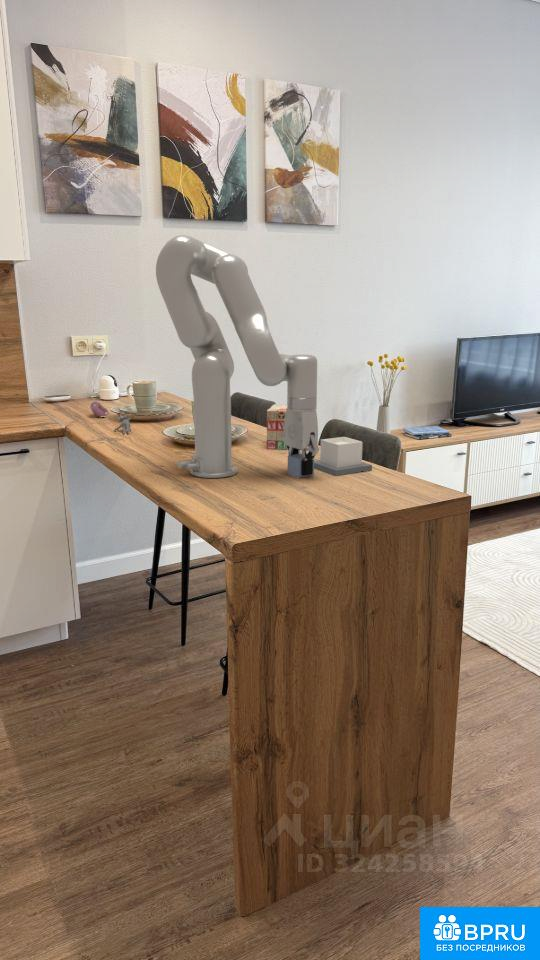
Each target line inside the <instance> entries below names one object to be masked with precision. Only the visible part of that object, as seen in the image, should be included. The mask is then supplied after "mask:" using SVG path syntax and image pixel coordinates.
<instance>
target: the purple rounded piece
mask: <svg viewBox="0 0 540 960" xmlns="http://www.w3.org/2000/svg"><path fill="white" fill-rule="evenodd" d="M89 407H90V410H91V412H92V413H93V414H94V416H99V417H98V418H101V416H106V417H107V415H106V414H105V412H108V413H109V410H108V409H107V408H106V407H104V405H102V404H101V403H100V402H99V401H93V402H91V403H90V406H89Z"/></svg>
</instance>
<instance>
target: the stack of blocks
mask: <svg viewBox="0 0 540 960" xmlns="http://www.w3.org/2000/svg"><path fill="white" fill-rule="evenodd" d="M286 409H287V404H277V403H275V404H272V405H271V406H270V407H269V408H268V409H267V410H266V450H272V451H273V450H277V451H278V450H279V451H288V448H287V445H286V444H285V443H284V441H283V434H284V420H285V413H286Z"/></svg>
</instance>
